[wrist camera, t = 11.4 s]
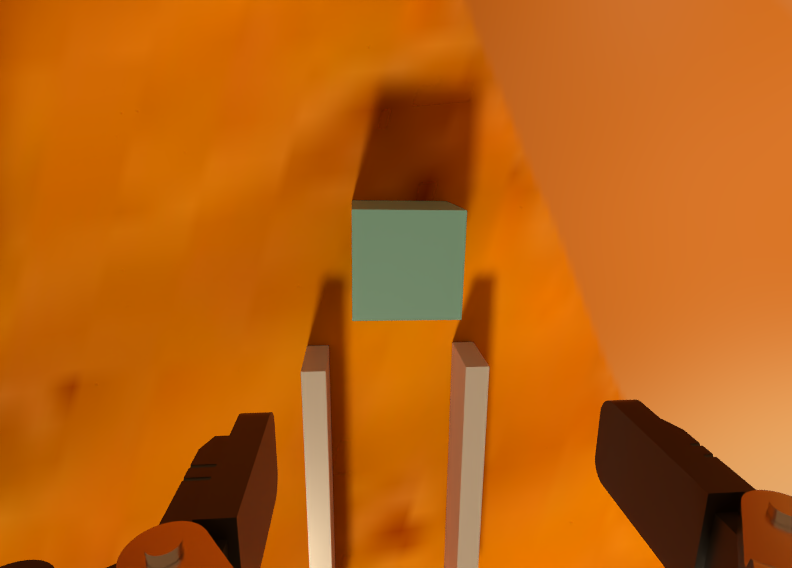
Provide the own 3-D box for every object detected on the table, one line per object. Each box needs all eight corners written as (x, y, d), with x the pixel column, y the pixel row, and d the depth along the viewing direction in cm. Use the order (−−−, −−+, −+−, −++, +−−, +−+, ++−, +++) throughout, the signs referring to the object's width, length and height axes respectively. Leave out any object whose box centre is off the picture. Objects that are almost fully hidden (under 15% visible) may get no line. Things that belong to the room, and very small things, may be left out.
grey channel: (317, 607, 32) (313, 660, 29) (307, 345, 28) (300, 371, 24) (461, 597, 33) (473, 647, 29) (473, 341, 28) (489, 366, 25)
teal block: (352, 292, 27) (352, 320, 22) (351, 200, 26) (351, 209, 21) (442, 291, 28) (461, 319, 23) (446, 200, 26) (467, 210, 22)
